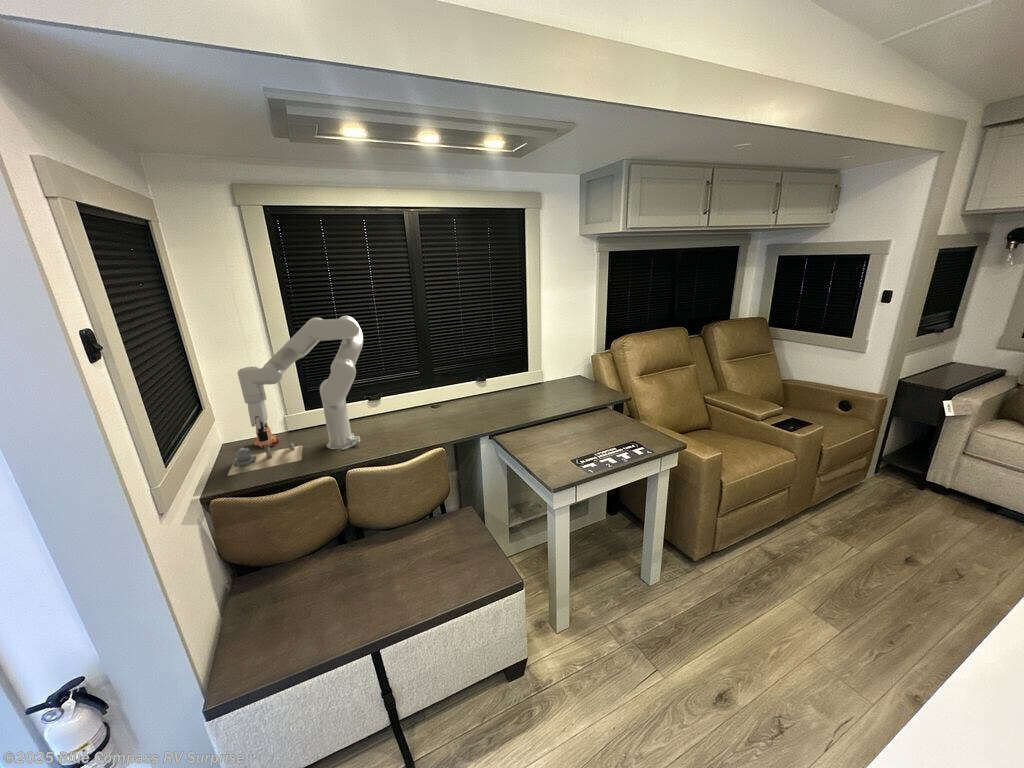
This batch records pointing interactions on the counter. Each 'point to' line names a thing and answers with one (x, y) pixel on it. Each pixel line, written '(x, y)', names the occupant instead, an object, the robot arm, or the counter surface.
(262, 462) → the gear board
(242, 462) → the grey octopus toy
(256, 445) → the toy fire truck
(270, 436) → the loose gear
